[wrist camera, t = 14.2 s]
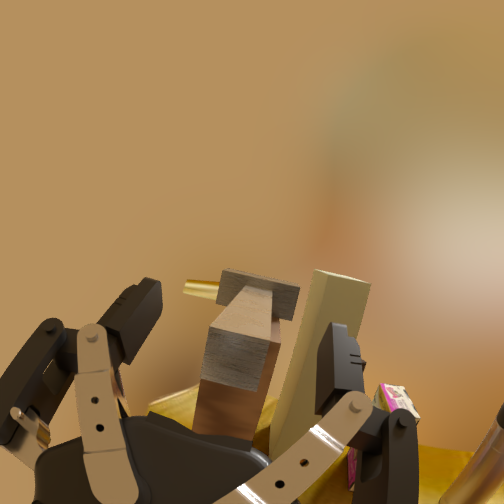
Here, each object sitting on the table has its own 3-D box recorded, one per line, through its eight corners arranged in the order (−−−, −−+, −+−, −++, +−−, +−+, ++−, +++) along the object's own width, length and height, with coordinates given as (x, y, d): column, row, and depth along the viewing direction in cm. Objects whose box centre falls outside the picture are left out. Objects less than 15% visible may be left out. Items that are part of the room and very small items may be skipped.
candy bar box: (345, 453, 37) (378, 381, 37) (368, 456, 36) (404, 385, 36) (345, 492, 26) (392, 414, 26) (373, 494, 25) (423, 417, 25)
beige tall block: (299, 429, 45) (347, 276, 44) (303, 467, 33) (371, 283, 32) (270, 425, 45) (314, 269, 45) (268, 463, 33) (328, 274, 33)
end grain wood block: (289, 313, 34) (297, 283, 34) (312, 401, 12) (335, 332, 12) (222, 298, 35) (228, 268, 35) (147, 360, 13) (156, 291, 13)
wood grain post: (239, 451, 36) (278, 309, 35) (227, 510, 22) (281, 343, 21) (204, 442, 36) (234, 299, 36) (181, 498, 22) (210, 326, 22)
